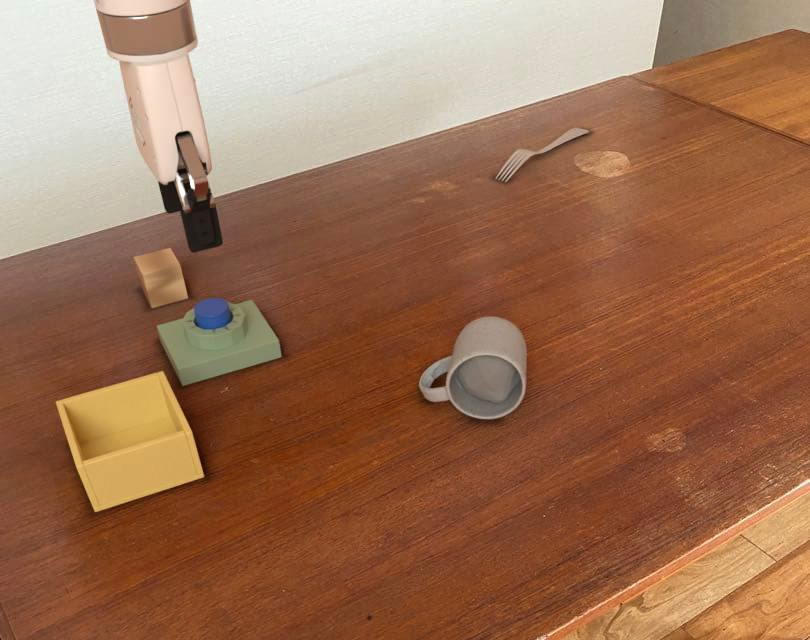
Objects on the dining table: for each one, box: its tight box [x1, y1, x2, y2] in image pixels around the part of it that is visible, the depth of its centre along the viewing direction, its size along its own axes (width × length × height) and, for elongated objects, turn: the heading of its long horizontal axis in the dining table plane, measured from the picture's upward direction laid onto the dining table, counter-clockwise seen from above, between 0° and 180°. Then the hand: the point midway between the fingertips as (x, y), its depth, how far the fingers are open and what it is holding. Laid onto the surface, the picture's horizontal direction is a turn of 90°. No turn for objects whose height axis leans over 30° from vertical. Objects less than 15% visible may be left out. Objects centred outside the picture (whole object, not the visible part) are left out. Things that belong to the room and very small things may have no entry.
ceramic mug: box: [418, 315, 528, 420], centre depth 85 cm, size 11×8×8 cm
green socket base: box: [156, 299, 282, 387], centre depth 93 cm, size 11×9×4 cm
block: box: [133, 247, 189, 309], centre depth 101 cm, size 4×4×4 cm
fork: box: [495, 127, 590, 183], centre depth 125 cm, size 3×21×3 cm, turn 139°
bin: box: [55, 370, 205, 513], centre depth 80 cm, size 10×10×6 cm
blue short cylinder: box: [193, 297, 231, 330], centre depth 91 cm, size 4×4×2 cm
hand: (193, 227), depth 84 cm, fingers open, 8 cm apart
